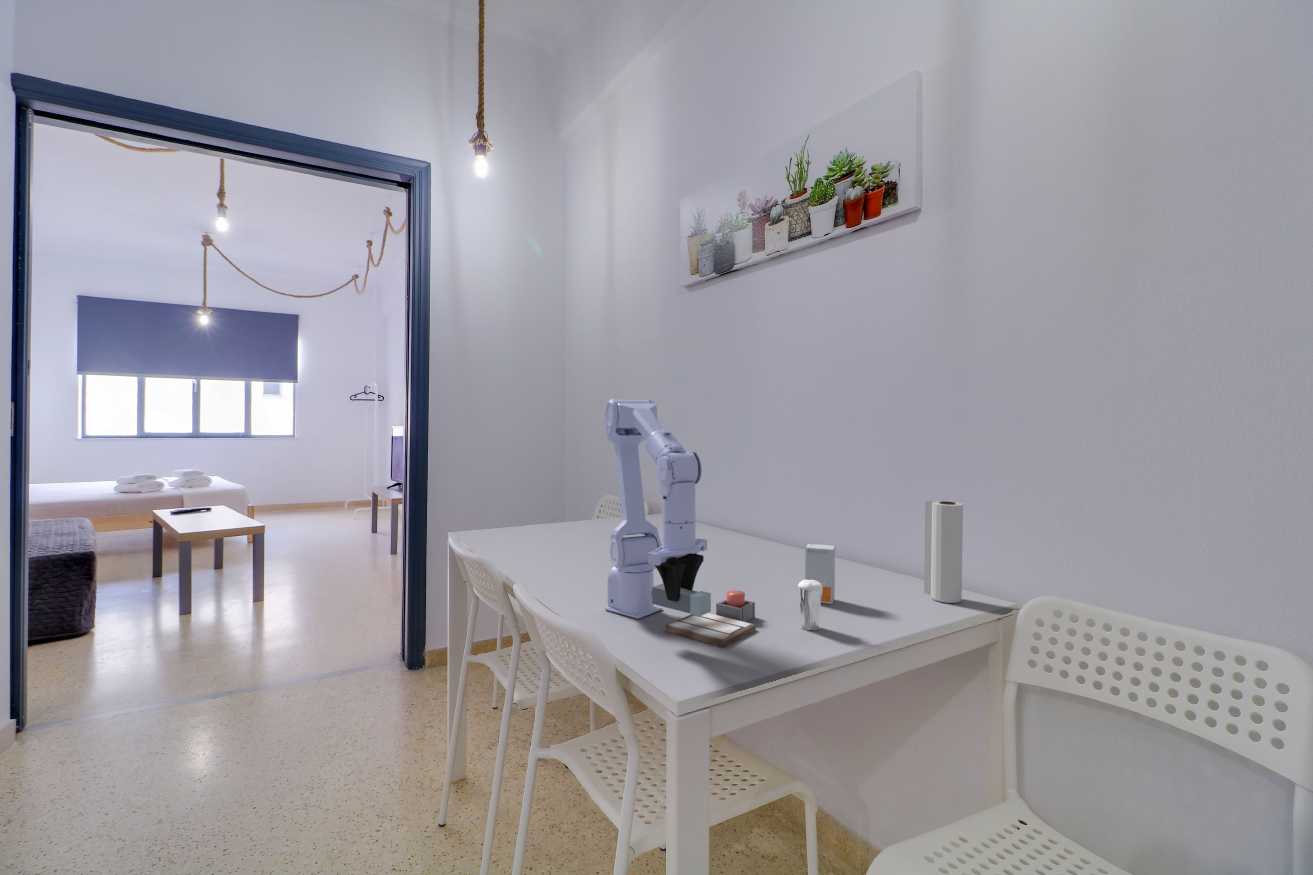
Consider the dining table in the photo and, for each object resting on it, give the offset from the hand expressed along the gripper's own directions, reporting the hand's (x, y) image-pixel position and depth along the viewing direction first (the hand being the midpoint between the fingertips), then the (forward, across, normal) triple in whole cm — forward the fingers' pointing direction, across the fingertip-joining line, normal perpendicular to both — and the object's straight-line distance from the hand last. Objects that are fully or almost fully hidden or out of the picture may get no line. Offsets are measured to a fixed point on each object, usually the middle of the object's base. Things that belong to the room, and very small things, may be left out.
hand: (679, 597), depth 106 cm
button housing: (+9, +19, 0) cm, 21 cm away
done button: (+7, +19, 0) cm, 20 cm away
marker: (+2, 0, 0) cm, 2 cm away
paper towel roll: (+9, +58, -29) cm, 65 cm away
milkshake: (+9, +23, -14) cm, 28 cm away
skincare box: (+9, +40, -8) cm, 42 cm away
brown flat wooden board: (+9, +10, 0) cm, 13 cm away
